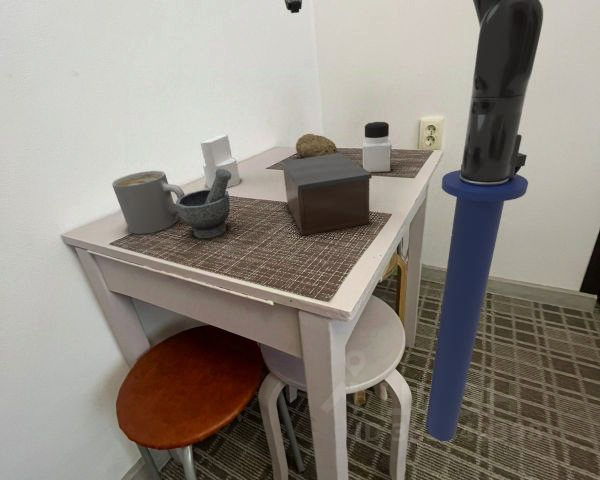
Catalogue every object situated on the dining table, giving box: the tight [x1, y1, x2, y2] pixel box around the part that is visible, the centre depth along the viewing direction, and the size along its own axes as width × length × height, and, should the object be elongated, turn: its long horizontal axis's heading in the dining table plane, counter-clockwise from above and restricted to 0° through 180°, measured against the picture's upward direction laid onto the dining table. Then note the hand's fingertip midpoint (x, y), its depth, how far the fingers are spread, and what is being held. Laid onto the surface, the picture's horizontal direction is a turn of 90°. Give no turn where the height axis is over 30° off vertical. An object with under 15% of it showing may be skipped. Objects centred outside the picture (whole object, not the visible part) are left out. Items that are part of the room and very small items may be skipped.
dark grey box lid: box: [282, 152, 373, 190], centre depth 61 cm, size 17×13×1 cm
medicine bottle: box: [362, 121, 392, 173], centre depth 87 cm, size 7×7×12 cm
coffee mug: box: [111, 170, 186, 235], centre depth 67 cm, size 13×10×10 cm
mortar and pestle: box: [175, 169, 231, 239], centre depth 61 cm, size 11×9×12 cm
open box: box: [282, 165, 370, 236], centre depth 64 cm, size 16×13×9 cm
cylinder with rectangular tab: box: [200, 134, 241, 189], centre depth 88 cm, size 9×9×12 cm
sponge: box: [295, 133, 338, 158], centre depth 105 cm, size 13×8×20 cm
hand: (295, 8), depth 60 cm, fingers closed
